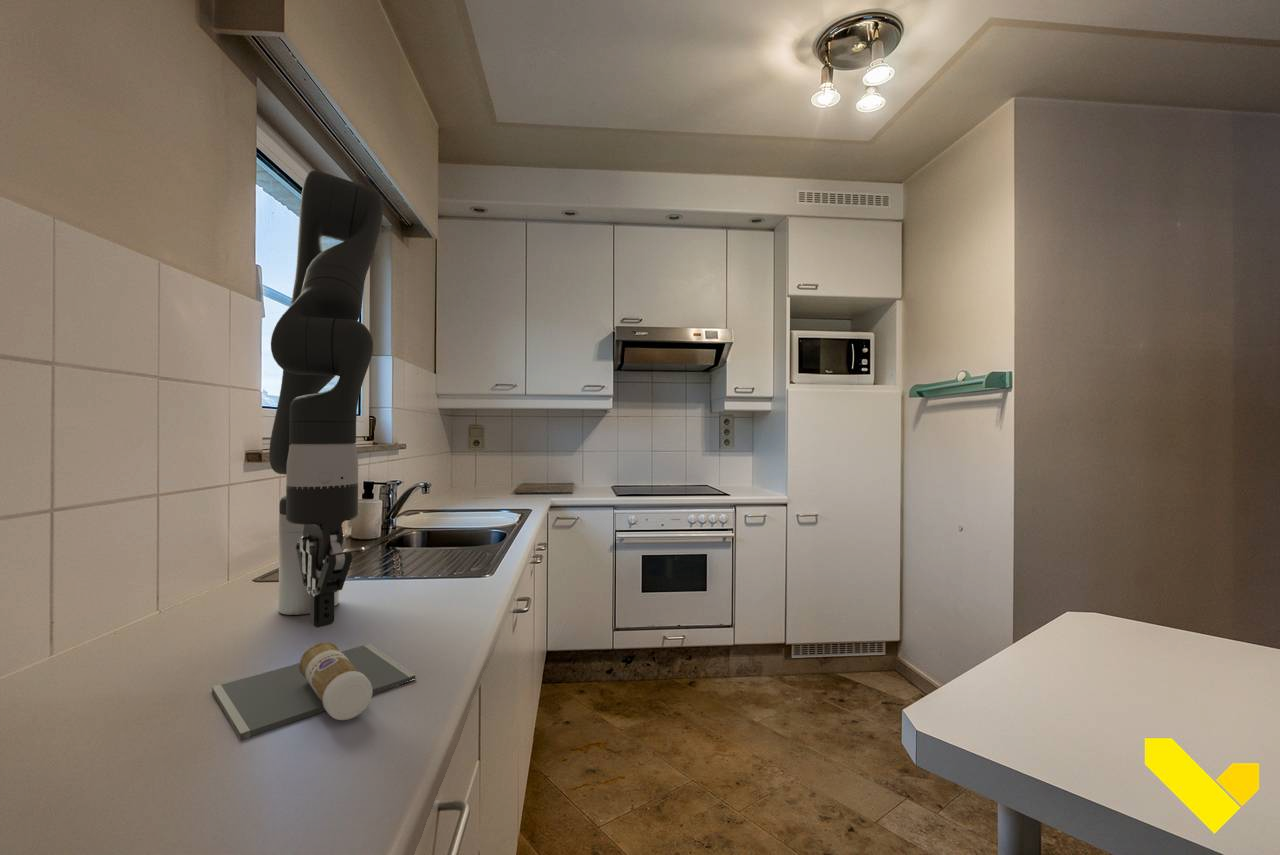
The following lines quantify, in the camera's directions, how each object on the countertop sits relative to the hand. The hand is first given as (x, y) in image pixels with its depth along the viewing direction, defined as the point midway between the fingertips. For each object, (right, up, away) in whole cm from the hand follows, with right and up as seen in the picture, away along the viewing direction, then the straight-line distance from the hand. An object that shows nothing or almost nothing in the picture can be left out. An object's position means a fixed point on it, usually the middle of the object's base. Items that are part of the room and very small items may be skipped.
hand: (322, 624), depth 65 cm
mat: (-2, -8, +1) cm, 8 cm away
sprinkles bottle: (-2, -5, +2) cm, 6 cm away
